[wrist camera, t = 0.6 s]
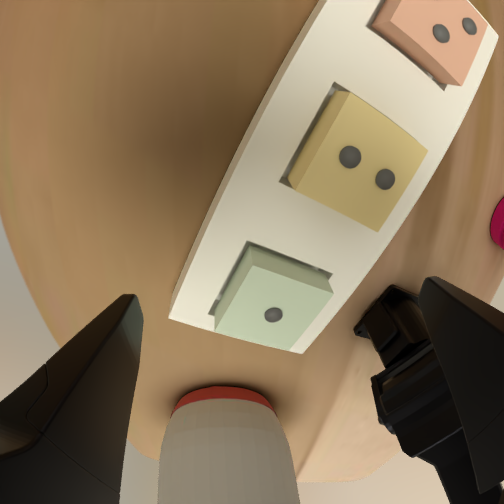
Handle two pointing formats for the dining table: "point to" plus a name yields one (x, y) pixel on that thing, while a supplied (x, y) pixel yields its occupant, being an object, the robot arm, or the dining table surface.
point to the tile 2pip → (356, 161)
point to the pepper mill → (498, 225)
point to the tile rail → (290, 146)
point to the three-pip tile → (435, 34)
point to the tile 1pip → (271, 300)
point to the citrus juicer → (225, 451)
